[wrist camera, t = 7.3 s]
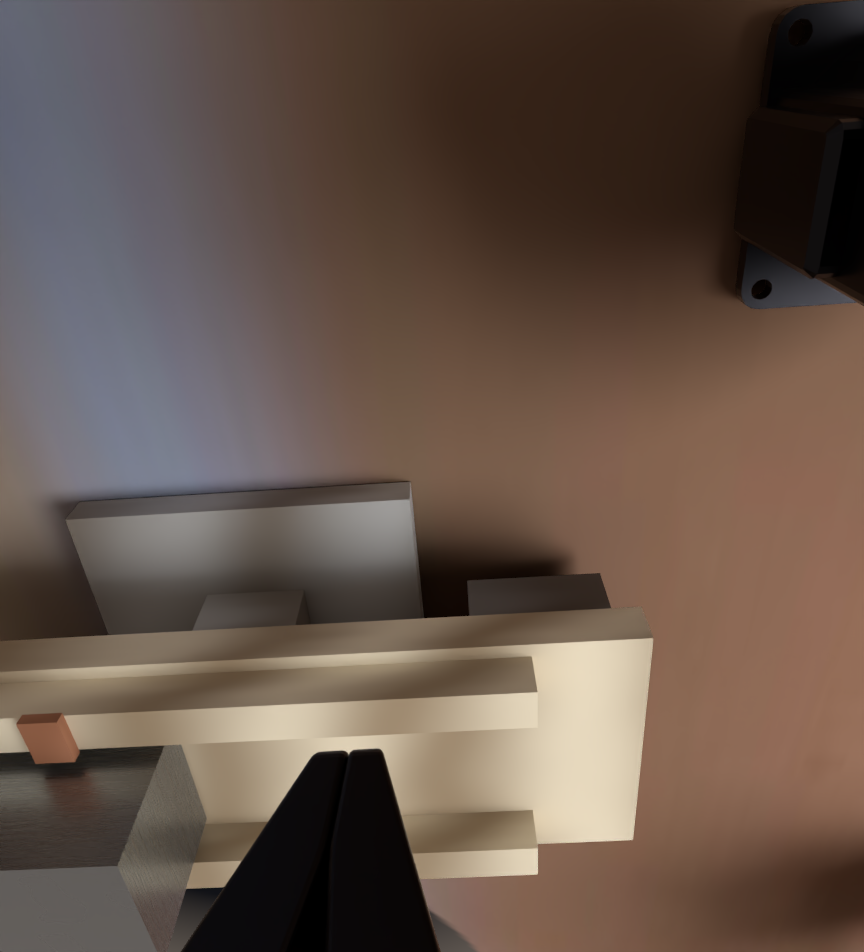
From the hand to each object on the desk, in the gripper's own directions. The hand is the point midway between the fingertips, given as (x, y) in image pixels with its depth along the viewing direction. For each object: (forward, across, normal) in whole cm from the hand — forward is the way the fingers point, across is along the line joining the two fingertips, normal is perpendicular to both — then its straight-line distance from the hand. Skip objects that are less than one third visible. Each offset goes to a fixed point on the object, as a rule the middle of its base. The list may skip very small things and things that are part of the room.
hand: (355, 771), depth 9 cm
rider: (+8, +9, +9) cm, 15 cm away
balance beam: (+13, +5, +9) cm, 17 cm away
